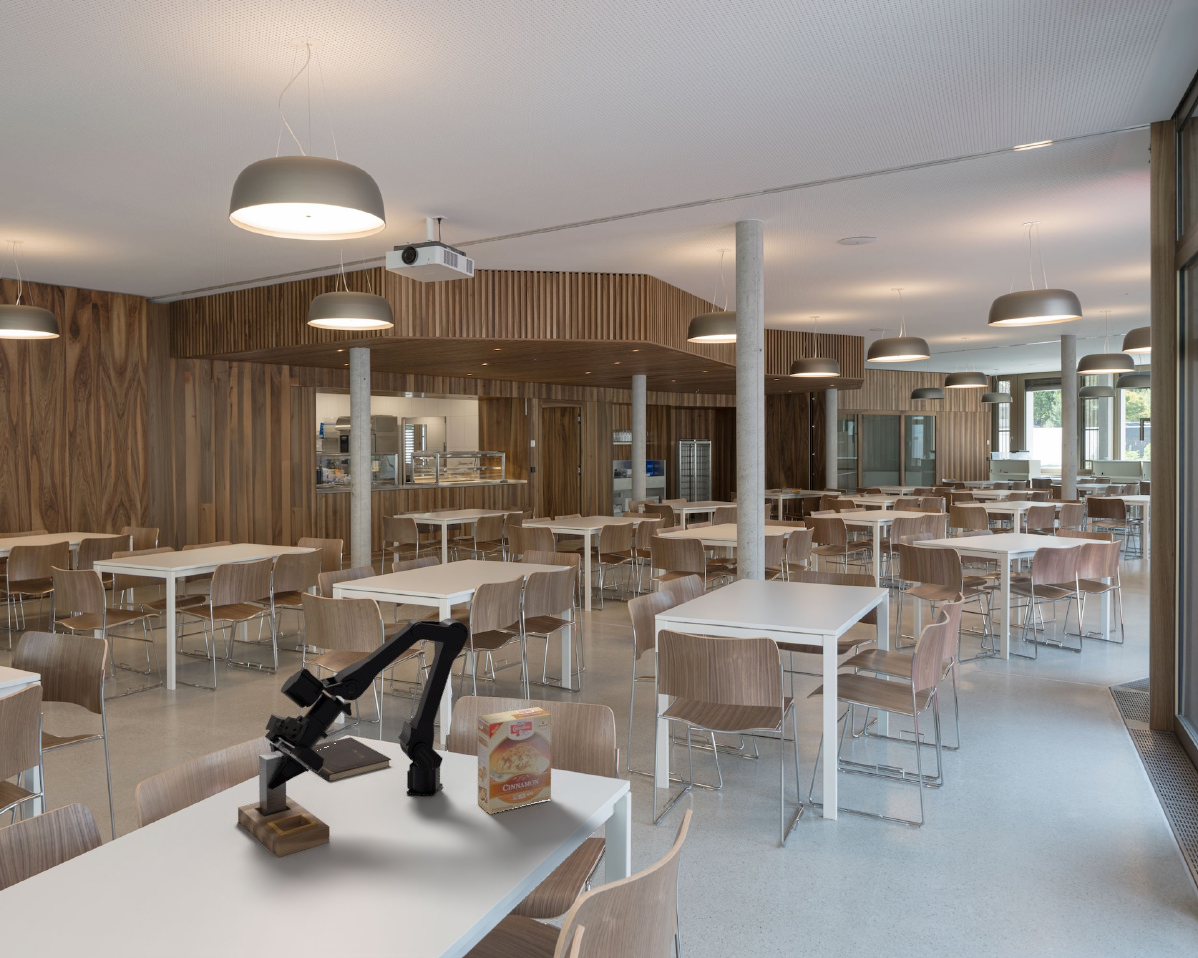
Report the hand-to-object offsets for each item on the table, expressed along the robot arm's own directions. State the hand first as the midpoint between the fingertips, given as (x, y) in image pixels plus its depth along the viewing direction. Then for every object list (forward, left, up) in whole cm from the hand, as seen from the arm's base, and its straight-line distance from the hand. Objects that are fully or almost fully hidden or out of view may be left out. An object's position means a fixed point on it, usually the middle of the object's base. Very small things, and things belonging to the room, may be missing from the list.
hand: (265, 785), depth 172 cm
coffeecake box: (-48, -19, -8) cm, 52 cm away
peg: (-1, -1, -7) cm, 7 cm away
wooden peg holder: (-5, +2, -8) cm, 10 cm away
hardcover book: (+2, -39, -9) cm, 40 cm away
